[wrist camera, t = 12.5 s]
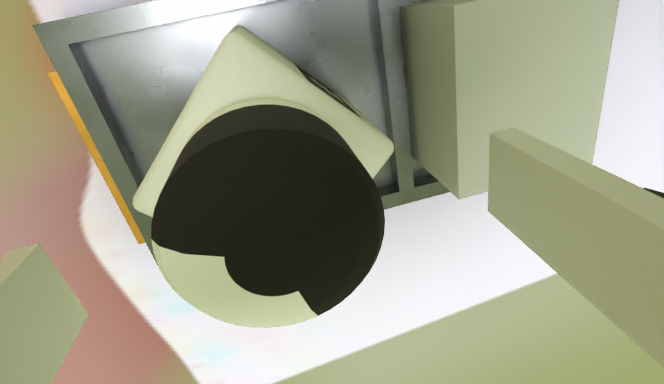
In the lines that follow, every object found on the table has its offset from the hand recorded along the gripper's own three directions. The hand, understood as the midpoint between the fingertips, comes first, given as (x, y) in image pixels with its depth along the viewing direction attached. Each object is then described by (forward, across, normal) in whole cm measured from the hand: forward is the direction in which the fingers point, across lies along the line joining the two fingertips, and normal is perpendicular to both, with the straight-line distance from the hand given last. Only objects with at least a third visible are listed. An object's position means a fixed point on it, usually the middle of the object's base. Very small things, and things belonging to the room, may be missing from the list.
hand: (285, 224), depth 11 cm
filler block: (+12, +12, 0) cm, 17 cm away
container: (+12, -1, 0) cm, 12 cm away
